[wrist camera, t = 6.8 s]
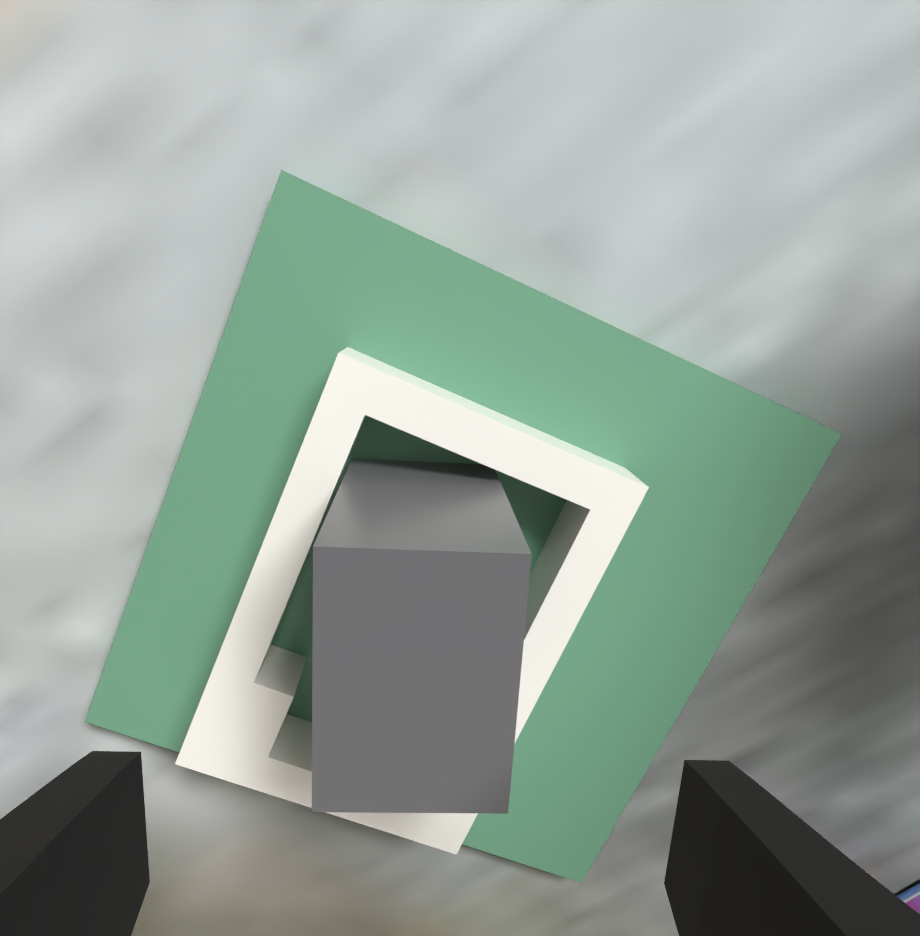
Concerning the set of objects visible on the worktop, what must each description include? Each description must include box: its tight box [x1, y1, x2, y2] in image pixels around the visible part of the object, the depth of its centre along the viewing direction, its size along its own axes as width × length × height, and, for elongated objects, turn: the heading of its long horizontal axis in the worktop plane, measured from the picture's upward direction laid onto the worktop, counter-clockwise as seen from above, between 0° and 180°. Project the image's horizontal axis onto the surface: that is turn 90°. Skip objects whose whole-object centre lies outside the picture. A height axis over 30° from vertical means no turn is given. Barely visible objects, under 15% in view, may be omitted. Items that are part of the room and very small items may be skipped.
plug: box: [312, 459, 532, 814], centre depth 14 cm, size 4×6×6 cm, turn 177°
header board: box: [85, 170, 842, 883], centre depth 17 cm, size 15×15×3 cm
